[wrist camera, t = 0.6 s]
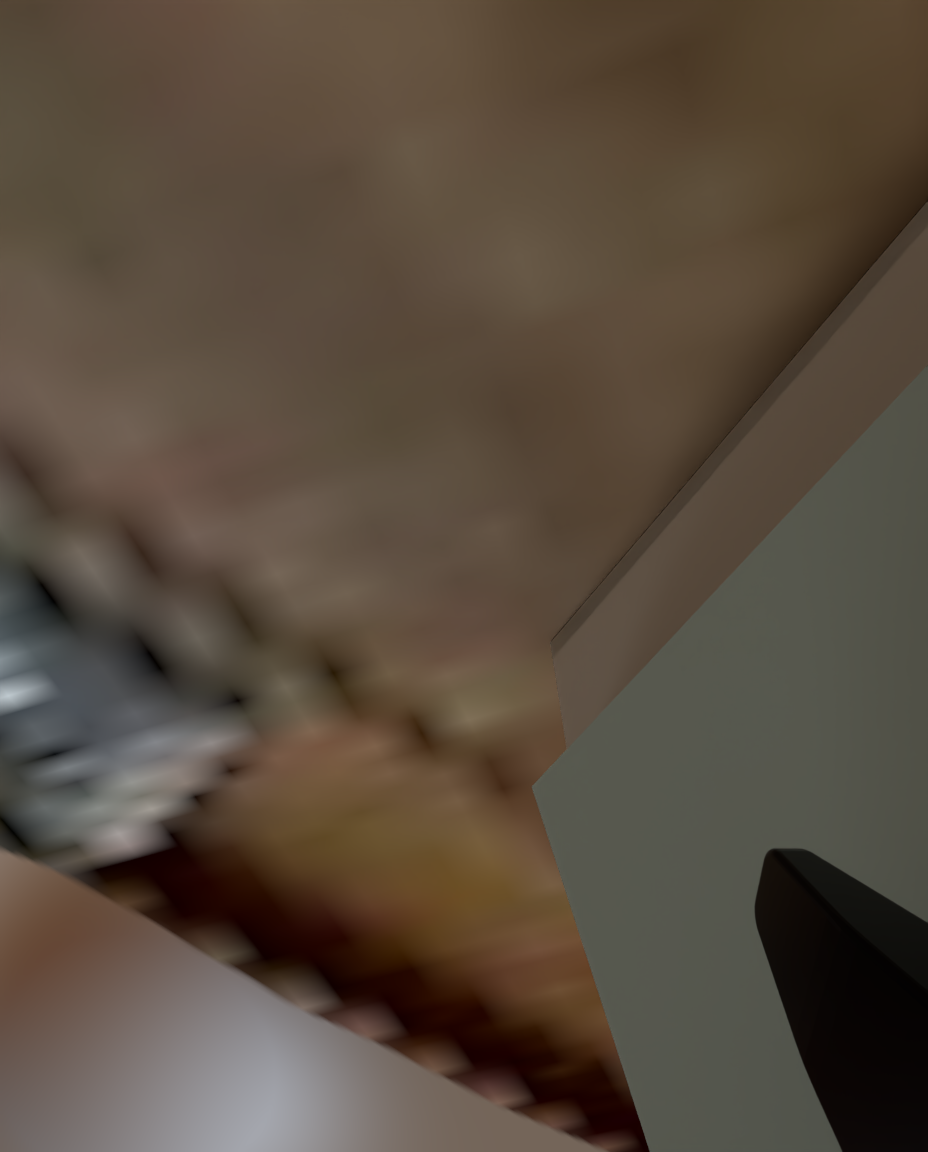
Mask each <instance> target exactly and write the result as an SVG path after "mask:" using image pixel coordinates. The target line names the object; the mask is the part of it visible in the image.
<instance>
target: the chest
mask: <svg viewBox="0 0 928 1152" xmlns="http://www.w3.org/2000/svg"><path fill="white" fill-rule="evenodd" d="M927 365H928V201H927V202H926V203H925V205H924V206H923V207H922V208H921V209H920V210H919V212H918V213H917V214H916V215H915V216H914V217H913V219H912V220H911V221H910V222H909V223H908V225H907V226H906V227H905V228H904V229H903V230H902V232H901V233H900V234H899V235H898V236H897V237H896V239H895V240H894V241H893V242H892V243H891V244H890V246H889V247H888V248H887V249H886V250H885V251H884V253H883V254H882V255H881V256H880V257H879V258H878V260H877V261H876V262H875V263H874V264H873V265H872V267H871V268H870V269H869V270H868V271H867V273H866V274H865V275H864V276H863V277H862V278H861V280H860V281H859V282H858V283H857V284H856V285H855V287H854V288H853V289H852V290H851V291H850V292H849V294H848V295H847V296H846V297H845V298H844V299H843V301H842V302H841V303H840V304H839V305H838V306H837V308H836V309H835V310H834V311H833V312H832V313H831V315H830V316H829V317H828V318H827V319H826V321H825V322H824V323H823V324H822V325H821V326H820V328H819V329H818V330H817V331H816V332H815V333H814V335H813V336H812V337H811V338H810V339H809V340H808V342H807V343H806V344H805V345H804V346H803V347H802V349H801V350H800V351H799V352H798V353H797V354H796V356H795V357H794V358H793V359H792V360H791V361H790V363H789V364H788V365H787V366H786V367H785V369H784V370H783V371H782V372H781V373H780V374H779V376H778V377H777V378H776V379H775V380H774V381H773V383H772V384H771V385H770V386H769V387H768V388H767V390H766V391H765V392H764V393H763V394H762V395H761V397H760V398H759V399H758V400H757V401H756V402H755V404H754V405H753V406H752V407H751V408H750V409H749V411H748V412H747V413H746V414H745V415H744V417H743V418H742V419H741V420H740V421H739V422H738V424H737V425H736V426H735V427H734V428H733V429H732V431H731V432H730V433H729V434H728V435H727V436H726V438H725V439H724V440H723V441H722V442H721V443H720V445H719V446H718V447H717V448H716V449H715V450H714V452H713V453H712V454H711V455H710V456H709V457H708V459H707V460H706V461H705V462H704V463H703V465H702V466H701V467H700V468H699V469H698V470H697V472H696V473H695V474H694V475H693V476H692V477H691V479H690V480H689V481H688V482H687V483H686V484H685V486H684V487H683V488H682V489H681V490H680V491H679V493H678V494H677V495H676V496H675V497H674V498H673V500H672V501H671V502H670V503H669V504H668V505H667V507H666V508H665V509H664V510H663V511H662V513H661V514H660V515H659V516H658V517H657V518H656V520H655V521H654V522H653V523H652V524H651V525H650V527H649V528H648V529H647V530H646V531H645V532H644V534H643V535H642V536H641V537H640V538H639V539H638V541H637V542H636V543H635V544H634V545H633V546H632V548H631V549H630V550H629V551H628V552H627V553H626V555H625V556H624V557H623V558H622V559H621V561H620V562H619V563H618V564H617V565H616V566H615V568H614V569H613V570H612V571H611V572H610V573H609V575H608V576H607V577H606V578H605V579H604V580H603V582H602V583H601V584H600V585H599V586H598V587H597V589H596V590H595V591H594V592H593V593H592V594H591V596H590V597H589V598H588V599H587V600H586V601H585V603H584V604H583V605H582V606H581V607H580V609H579V610H578V611H577V612H576V613H575V614H574V616H573V617H572V618H571V619H570V620H569V621H568V623H567V624H566V625H565V626H564V627H563V628H562V630H561V631H560V632H559V633H558V634H557V635H556V637H555V638H554V639H553V640H552V641H551V642H550V644H551V651H552V657H553V664H554V670H555V676H556V683H557V689H558V696H559V702H560V708H561V715H562V721H563V728H564V734H565V740H566V747H567V749H568V748H569V746H570V745H571V744H572V743H573V742H574V741H575V740H576V739H577V738H578V737H579V736H580V735H581V734H582V733H583V732H584V730H585V729H586V728H587V727H588V726H589V725H590V724H591V723H592V722H593V721H594V720H595V719H596V718H597V717H598V716H599V715H600V713H601V712H602V711H603V710H604V709H605V708H606V707H607V706H608V705H609V704H610V703H611V702H612V701H613V700H614V699H615V697H616V696H617V695H618V694H619V693H620V692H621V691H622V690H623V689H624V688H625V687H626V686H627V685H628V684H629V683H630V681H631V680H632V679H633V678H634V677H635V676H636V675H637V674H638V673H639V672H640V671H641V670H642V669H643V668H644V667H645V665H646V664H647V663H648V662H649V661H650V660H651V659H652V658H653V657H654V656H655V655H656V654H657V653H658V652H659V651H660V649H661V648H662V647H663V646H664V645H665V644H666V643H667V642H668V641H669V640H670V639H671V638H672V637H673V636H674V635H675V633H676V632H677V631H678V630H679V629H680V628H681V627H682V626H683V625H684V624H685V623H686V622H687V621H688V620H689V619H690V618H691V616H692V615H693V614H694V613H695V612H696V611H697V610H698V609H699V608H700V607H701V606H702V605H703V604H704V603H705V602H706V600H707V599H708V598H709V597H710V596H711V595H712V594H713V593H714V592H715V591H716V590H717V589H718V588H719V587H720V586H721V584H722V583H723V582H724V581H725V580H726V579H727V578H728V577H729V576H730V575H731V574H732V573H733V572H734V571H735V570H736V568H737V567H738V566H739V565H740V564H741V563H742V562H743V561H744V560H745V559H746V558H747V557H748V556H749V555H750V554H751V552H752V551H753V550H754V549H755V548H756V547H757V546H758V545H759V544H760V543H761V542H762V541H763V540H764V539H765V538H766V536H767V535H768V534H769V533H770V532H771V531H772V530H773V529H774V528H775V527H776V526H777V525H778V524H779V523H780V522H781V520H782V519H783V518H784V517H785V516H786V515H787V514H788V513H789V512H790V511H791V510H792V509H793V508H794V507H795V506H796V505H797V503H798V502H799V501H800V500H801V499H802V498H803V497H804V496H805V495H806V494H807V493H808V492H809V491H810V490H811V489H812V487H813V486H814V485H815V484H816V483H817V482H818V481H819V480H820V479H821V478H822V477H823V476H824V475H825V474H826V473H827V471H828V470H829V469H830V468H831V467H832V466H833V465H834V464H835V463H836V462H837V461H838V460H839V459H840V458H841V457H842V455H843V454H844V453H845V452H846V451H847V450H848V449H849V448H850V447H851V446H852V445H853V444H854V443H855V442H856V441H857V439H858V438H859V437H860V436H861V435H862V434H863V433H864V432H865V431H866V430H867V429H868V428H869V427H870V426H871V425H872V423H873V422H874V421H875V420H876V419H877V418H878V417H879V416H880V415H881V414H882V413H883V412H884V411H885V410H886V409H887V407H888V406H889V405H890V404H891V403H892V402H893V401H894V400H895V399H896V398H897V397H898V396H899V395H900V394H901V393H902V392H903V390H904V389H905V388H906V387H907V386H908V385H909V384H910V383H911V382H912V381H913V380H914V379H915V378H916V377H917V376H918V374H919V373H920V372H921V371H922V370H923V369H924V368H925V367H926V366H927Z"/></svg>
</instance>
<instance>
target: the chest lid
mask: <svg viewBox="0 0 928 1152" xmlns="http://www.w3.org/2000/svg"><path fill="white" fill-rule="evenodd" d="M532 789H533V792H534V795H535V798H536V801H537V804H538V807H539V810H540V814H541V817H542V820H543V823H544V826H545V829H546V832H547V835H548V838H549V841H550V844H551V847H552V851H553V854H554V857H555V860H556V863H557V866H558V869H559V872H560V875H561V878H562V881H563V885H564V888H565V891H566V894H567V897H568V900H569V903H570V906H571V909H572V912H573V915H574V918H575V922H576V925H577V928H578V931H579V934H580V937H581V940H582V943H583V946H584V949H585V952H586V956H587V959H588V962H589V965H590V968H591V971H592V974H593V977H594V980H595V983H596V986H597V989H598V993H599V996H600V999H601V1002H602V1005H603V1008H604V1011H605V1014H606V1017H607V1020H608V1023H609V1027H610V1030H611V1033H612V1036H613V1039H614V1042H615V1045H616V1048H617V1051H618V1054H619V1057H620V1060H621V1064H622V1067H623V1070H624V1073H625V1076H626V1079H627V1082H628V1085H629V1088H630V1091H631V1094H632V1097H633V1101H634V1104H635V1107H636V1110H637V1113H638V1116H639V1119H640V1122H641V1125H642V1128H643V1131H644V1135H645V1138H646V1141H647V1144H648V1147H649V1150H650V1152H842V1150H841V1148H840V1146H839V1143H838V1141H837V1139H836V1137H835V1135H834V1132H833V1130H832V1128H831V1126H830V1124H829V1121H828V1119H827V1117H826V1115H825V1113H824V1110H823V1108H822V1106H821V1104H820V1102H819V1099H818V1097H817V1095H816V1093H815V1091H814V1088H813V1086H812V1084H811V1081H810V1079H809V1077H808V1074H807V1072H806V1070H805V1067H804V1065H803V1062H802V1060H801V1057H800V1054H799V1051H798V1048H797V1046H796V1043H795V1040H794V1037H793V1034H792V1031H791V1028H790V1025H789V1022H788V1019H787V1016H786V1013H785V1010H784V1008H783V1005H782V1002H781V999H780V996H779V993H778V990H777V987H776V984H775V981H774V978H773V975H772V972H771V969H770V966H769V963H768V960H767V957H766V954H765V951H764V948H763V945H762V942H761V939H760V936H759V933H758V930H757V926H756V921H755V913H754V905H755V898H756V894H757V889H758V884H759V880H760V875H761V870H762V865H763V861H764V857H765V855H766V853H767V851H769V850H770V849H772V848H802V849H806V850H808V851H810V852H812V853H814V854H816V855H817V856H819V857H821V858H822V859H824V860H825V861H827V862H829V863H830V864H832V865H834V866H835V867H837V868H839V869H840V870H842V871H844V872H845V873H847V874H849V875H850V876H852V877H854V878H855V879H857V880H858V881H860V882H862V883H863V884H865V885H867V886H868V887H870V888H872V889H873V890H875V891H877V892H878V893H880V894H882V895H883V896H885V897H887V898H888V899H890V900H891V901H893V902H895V903H896V904H898V905H900V906H901V907H903V908H905V909H906V910H908V911H910V912H911V913H913V914H915V915H916V916H918V917H920V918H921V919H923V920H924V921H926V922H928V365H927V366H926V367H925V368H924V369H923V370H922V371H921V372H920V373H919V374H918V376H917V377H916V378H915V379H914V380H913V381H912V382H911V383H910V384H909V385H908V386H907V387H906V388H905V389H904V390H903V392H902V393H901V394H900V395H899V396H898V397H897V398H896V399H895V400H894V401H893V402H892V403H891V404H890V405H889V406H888V407H887V409H886V410H885V411H884V412H883V413H882V414H881V415H880V416H879V417H878V418H877V419H876V420H875V421H874V422H873V423H872V425H871V426H870V427H869V428H868V429H867V430H866V431H865V432H864V433H863V434H862V435H861V436H860V437H859V438H858V439H857V441H856V442H855V443H854V444H853V445H852V446H851V447H850V448H849V449H848V450H847V451H846V452H845V453H844V454H843V455H842V457H841V458H840V459H839V460H838V461H837V462H836V463H835V464H834V465H833V466H832V467H831V468H830V469H829V470H828V471H827V473H826V474H825V475H824V476H823V477H822V478H821V479H820V480H819V481H818V482H817V483H816V484H815V485H814V486H813V487H812V489H811V490H810V491H809V492H808V493H807V494H806V495H805V496H804V497H803V498H802V499H801V500H800V501H799V502H798V503H797V505H796V506H795V507H794V508H793V509H792V510H791V511H790V512H789V513H788V514H787V515H786V516H785V517H784V518H783V519H782V520H781V522H780V523H779V524H778V525H777V526H776V527H775V528H774V529H773V530H772V531H771V532H770V533H769V534H768V535H767V536H766V538H765V539H764V540H763V541H762V542H761V543H760V544H759V545H758V546H757V547H756V548H755V549H754V550H753V551H752V552H751V554H750V555H749V556H748V557H747V558H746V559H745V560H744V561H743V562H742V563H741V564H740V565H739V566H738V567H737V568H736V570H735V571H734V572H733V573H732V574H731V575H730V576H729V577H728V578H727V579H726V580H725V581H724V582H723V583H722V584H721V586H720V587H719V588H718V589H717V590H716V591H715V592H714V593H713V594H712V595H711V596H710V597H709V598H708V599H707V600H706V602H705V603H704V604H703V605H702V606H701V607H700V608H699V609H698V610H697V611H696V612H695V613H694V614H693V615H692V616H691V618H690V619H689V620H688V621H687V622H686V623H685V624H684V625H683V626H682V627H681V628H680V629H679V630H678V631H677V632H676V633H675V635H674V636H673V637H672V638H671V639H670V640H669V641H668V642H667V643H666V644H665V645H664V646H663V647H662V648H661V649H660V651H659V652H658V653H657V654H656V655H655V656H654V657H653V658H652V659H651V660H650V661H649V662H648V663H647V664H646V665H645V667H644V668H643V669H642V670H641V671H640V672H639V673H638V674H637V675H636V676H635V677H634V678H633V679H632V680H631V681H630V683H629V684H628V685H627V686H626V687H625V688H624V689H623V690H622V691H621V692H620V693H619V694H618V695H617V696H616V697H615V699H614V700H613V701H612V702H611V703H610V704H609V705H608V706H607V707H606V708H605V709H604V710H603V711H602V712H601V713H600V715H599V716H598V717H597V718H596V719H595V720H594V721H593V722H592V723H591V724H590V725H589V726H588V727H587V728H586V729H585V730H584V732H583V733H582V734H581V735H580V736H579V737H578V738H577V739H576V740H575V741H574V742H573V743H572V744H571V745H570V746H569V748H568V749H567V750H566V751H565V752H564V753H563V754H562V755H561V756H560V757H559V758H558V759H557V760H556V761H555V762H554V764H553V765H552V766H551V767H550V768H549V769H548V770H547V771H546V772H545V773H544V774H543V775H542V776H541V777H540V778H539V780H538V781H537V782H536V783H535V784H534V785H533V786H532Z"/></svg>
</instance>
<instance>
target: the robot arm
mask: <svg viewBox="0 0 928 1152" xmlns="http://www.w3.org/2000/svg"><path fill="white" fill-rule="evenodd" d="M754 913H755V921H756V926H757V930H758V933H759V936H760V939H761V942H762V945H763V948H764V951H765V954H766V957H767V960H768V963H769V966H770V969H771V972H772V975H773V978H774V981H775V984H776V987H777V990H778V993H779V996H780V999H781V1002H782V1005H783V1008H784V1010H785V1013H786V1016H787V1019H788V1022H789V1025H790V1028H791V1031H792V1034H793V1037H794V1040H795V1043H796V1046H797V1048H798V1051H799V1054H800V1057H801V1060H802V1062H803V1065H804V1067H805V1070H806V1072H807V1074H808V1077H809V1079H810V1081H811V1084H812V1086H813V1088H814V1091H815V1093H816V1095H817V1097H818V1099H819V1102H820V1104H821V1106H822V1108H823V1110H824V1113H825V1115H826V1117H827V1119H828V1121H829V1124H830V1126H831V1128H832V1130H833V1132H834V1135H835V1137H836V1139H837V1141H838V1143H839V1146H840V1148H841V1150H842V1152H928V922H926V921H924V920H923V919H921V918H920V917H918V916H916V915H915V914H913V913H911V912H910V911H908V910H906V909H905V908H903V907H901V906H900V905H898V904H896V903H895V902H893V901H891V900H890V899H888V898H887V897H885V896H883V895H882V894H880V893H878V892H877V891H875V890H873V889H872V888H870V887H868V886H867V885H865V884H863V883H862V882H860V881H858V880H857V879H855V878H854V877H852V876H850V875H849V874H847V873H845V872H844V871H842V870H840V869H839V868H837V867H835V866H834V865H832V864H830V863H829V862H827V861H825V860H824V859H822V858H821V857H819V856H817V855H816V854H814V853H812V852H810V851H808V850H806V849H802V848H772V849H770V850H769V851H767V853H766V855H765V857H764V861H763V865H762V870H761V875H760V880H759V884H758V889H757V894H756V898H755V905H754Z"/></svg>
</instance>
